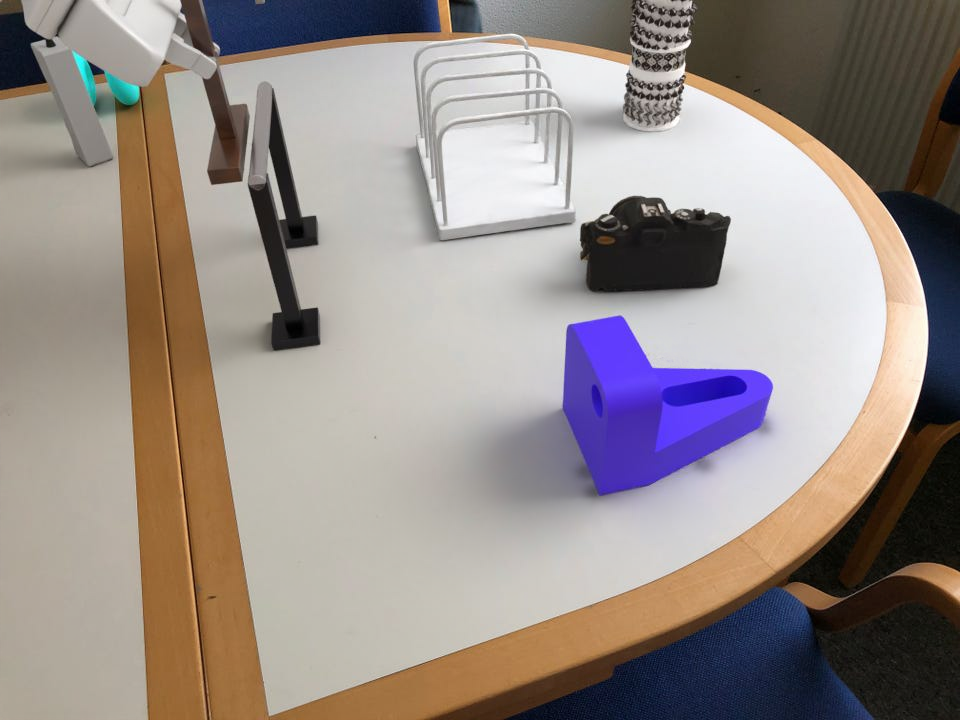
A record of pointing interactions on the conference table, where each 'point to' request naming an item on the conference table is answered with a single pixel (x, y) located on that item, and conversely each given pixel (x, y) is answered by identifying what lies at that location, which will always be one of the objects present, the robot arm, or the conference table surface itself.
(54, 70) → the vintage mobile phone
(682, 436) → the bracket
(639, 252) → the film camera
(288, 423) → the conference table surface
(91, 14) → the robot arm
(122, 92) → the donuts
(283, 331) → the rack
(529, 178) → the file sorter
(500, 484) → the conference table surface
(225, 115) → the headphone stand
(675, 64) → the white patterned cylinder
